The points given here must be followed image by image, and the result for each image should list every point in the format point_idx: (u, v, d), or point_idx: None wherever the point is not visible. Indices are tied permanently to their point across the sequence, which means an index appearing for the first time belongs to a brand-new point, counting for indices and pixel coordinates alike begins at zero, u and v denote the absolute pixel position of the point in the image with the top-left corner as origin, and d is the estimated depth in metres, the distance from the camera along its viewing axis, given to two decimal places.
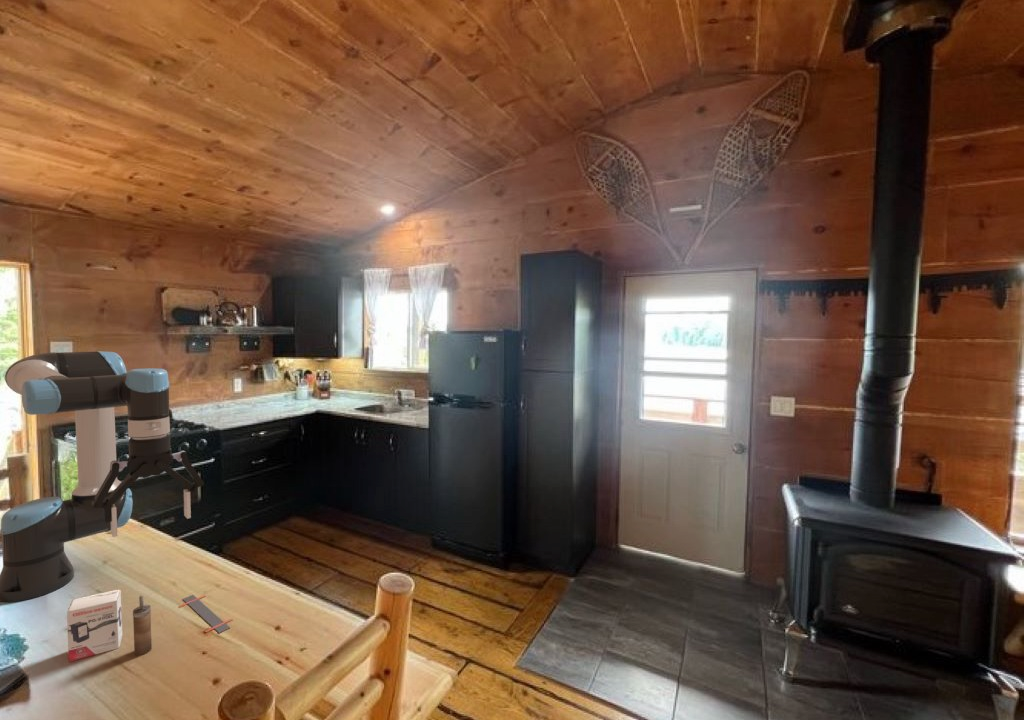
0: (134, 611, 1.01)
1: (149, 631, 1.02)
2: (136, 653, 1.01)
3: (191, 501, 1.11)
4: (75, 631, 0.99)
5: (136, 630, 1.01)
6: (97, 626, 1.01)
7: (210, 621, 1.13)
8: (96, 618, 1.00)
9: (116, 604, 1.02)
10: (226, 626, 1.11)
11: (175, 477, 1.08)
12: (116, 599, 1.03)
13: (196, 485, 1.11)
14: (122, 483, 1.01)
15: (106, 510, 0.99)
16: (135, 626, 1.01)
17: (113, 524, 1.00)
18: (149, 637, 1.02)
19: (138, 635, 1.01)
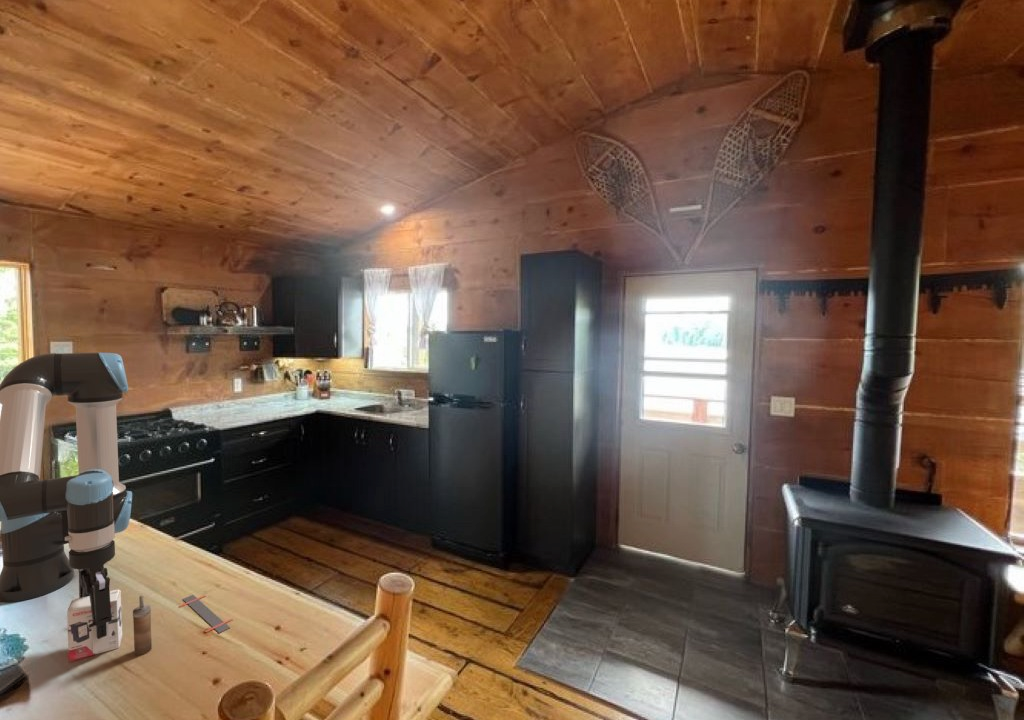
0: (134, 611, 1.01)
1: (149, 631, 1.02)
2: (136, 653, 1.01)
3: (97, 636, 0.99)
4: (75, 631, 0.99)
5: (136, 630, 1.01)
6: None
7: (210, 621, 1.13)
8: None
9: (116, 604, 1.02)
10: (226, 626, 1.11)
11: (90, 600, 0.99)
12: (116, 599, 1.03)
13: None
14: None
15: None
16: (135, 626, 1.01)
17: None
18: (149, 637, 1.02)
19: (138, 635, 1.01)
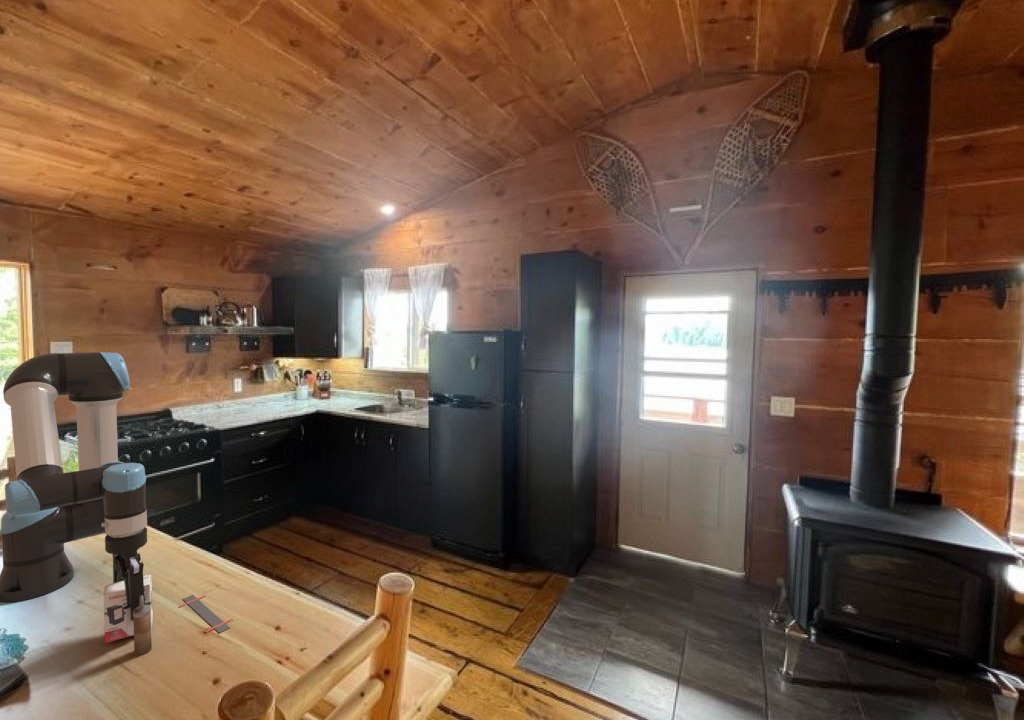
0: (134, 611, 1.01)
1: (149, 631, 1.02)
2: (136, 653, 1.01)
3: (131, 618, 1.04)
4: (111, 614, 1.04)
5: (136, 630, 1.01)
6: None
7: (210, 621, 1.13)
8: None
9: (149, 588, 1.07)
10: (226, 626, 1.11)
11: None
12: (149, 583, 1.08)
13: None
14: None
15: None
16: (135, 626, 1.01)
17: None
18: (149, 637, 1.02)
19: (138, 635, 1.01)
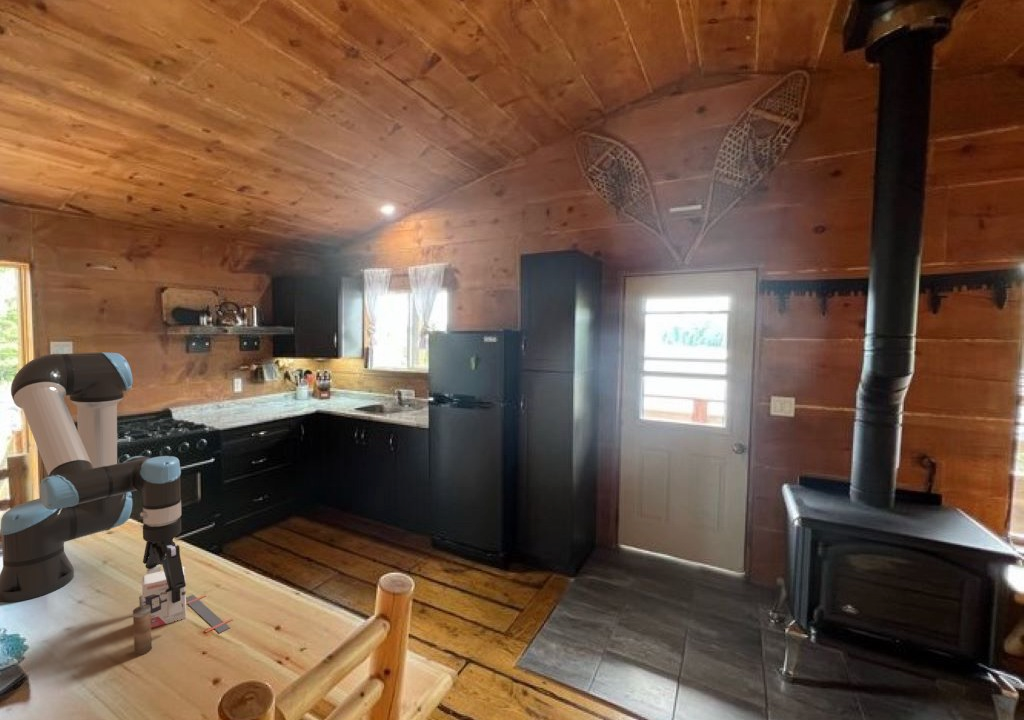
0: (134, 611, 1.01)
1: (149, 631, 1.02)
2: (136, 653, 1.01)
3: (172, 600, 1.08)
4: (149, 603, 1.09)
5: (136, 630, 1.01)
6: None
7: (210, 621, 1.13)
8: None
9: (184, 578, 1.13)
10: (226, 626, 1.11)
11: (164, 569, 1.09)
12: (184, 574, 1.13)
13: None
14: None
15: None
16: (135, 626, 1.01)
17: None
18: (149, 637, 1.02)
19: (138, 635, 1.01)
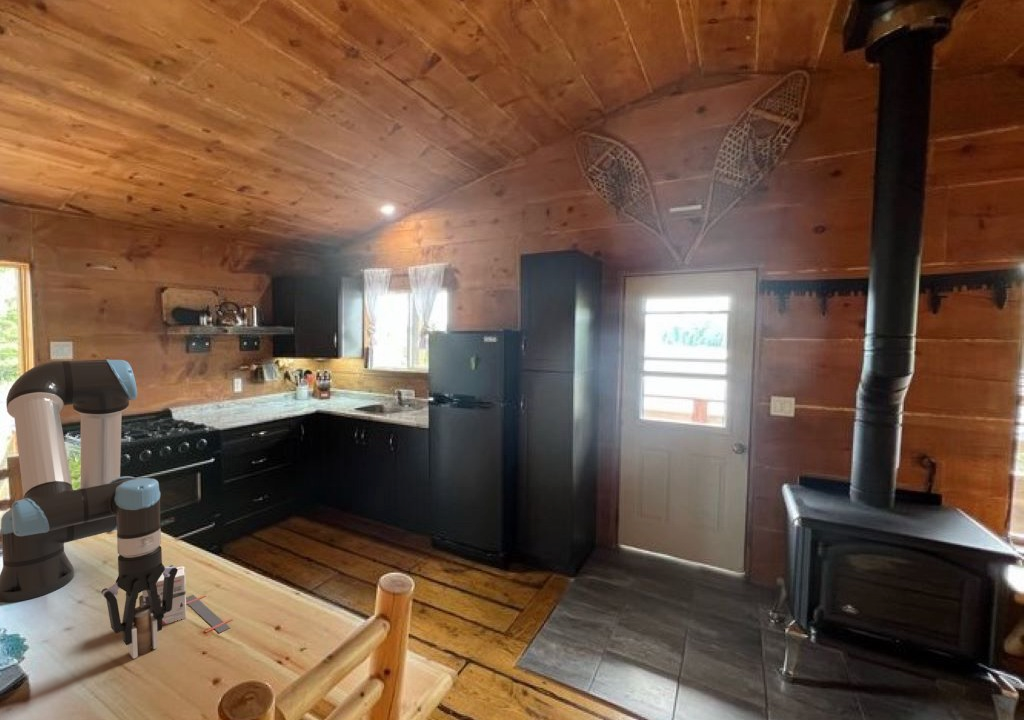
0: None
1: (149, 631, 1.02)
2: None
3: (158, 629, 1.04)
4: (149, 603, 1.09)
5: None
6: None
7: (210, 621, 1.13)
8: None
9: (184, 578, 1.13)
10: (226, 626, 1.11)
11: (153, 598, 1.02)
12: (184, 574, 1.13)
13: (163, 611, 1.05)
14: (127, 605, 0.99)
15: (126, 633, 0.99)
16: (135, 626, 1.01)
17: (134, 646, 1.00)
18: (149, 637, 1.02)
19: (138, 635, 1.01)
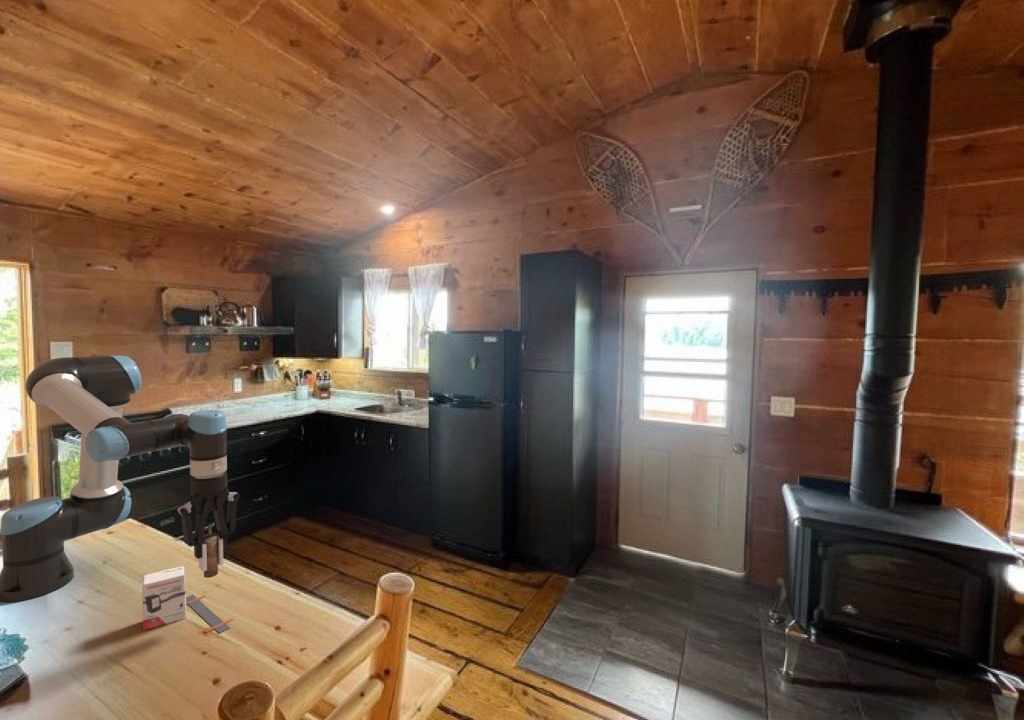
0: (204, 537, 1.12)
1: (216, 556, 1.13)
2: (205, 575, 1.12)
3: (223, 548, 1.14)
4: (149, 603, 1.09)
5: None
6: (168, 598, 1.11)
7: (210, 621, 1.13)
8: (167, 591, 1.11)
9: (184, 578, 1.13)
10: (226, 626, 1.11)
11: (220, 518, 1.13)
12: (184, 574, 1.13)
13: (227, 532, 1.15)
14: (198, 522, 1.10)
15: (198, 547, 1.10)
16: None
17: (204, 560, 1.10)
18: (216, 562, 1.13)
19: (208, 559, 1.11)
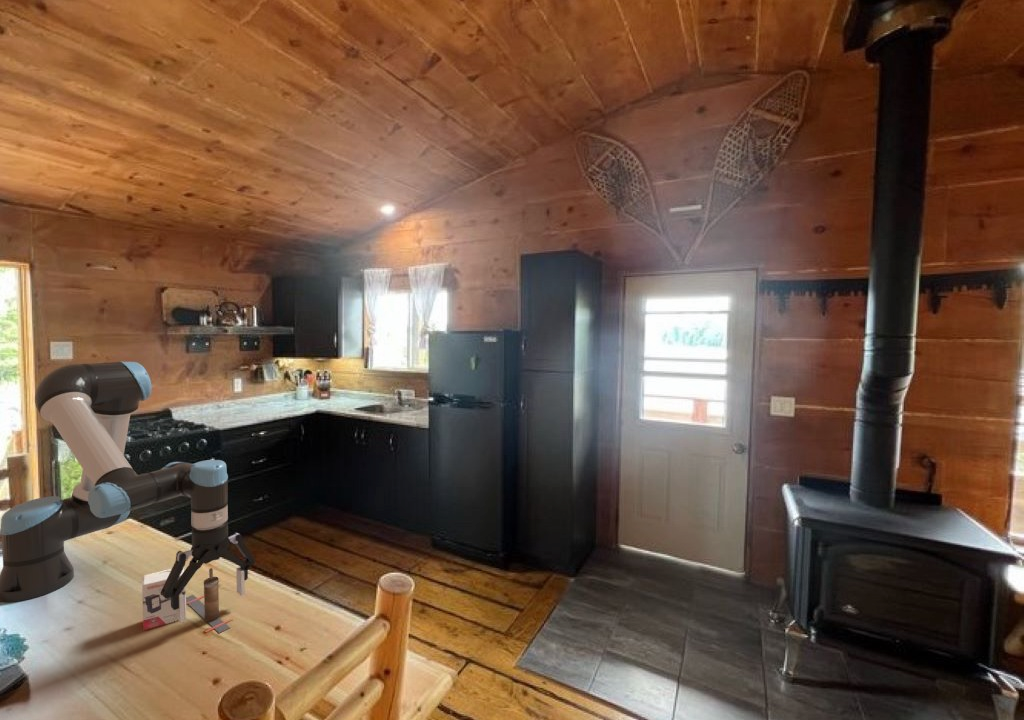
0: (205, 582, 1.12)
1: (217, 600, 1.14)
2: (206, 619, 1.13)
3: (244, 579, 1.19)
4: (149, 603, 1.09)
5: (207, 599, 1.12)
6: (168, 598, 1.11)
7: None
8: None
9: None
10: (226, 626, 1.11)
11: (232, 559, 1.16)
12: None
13: (248, 563, 1.20)
14: (187, 571, 1.09)
15: (174, 598, 1.06)
16: (206, 595, 1.12)
17: (181, 611, 1.07)
18: (217, 606, 1.14)
19: (209, 603, 1.12)
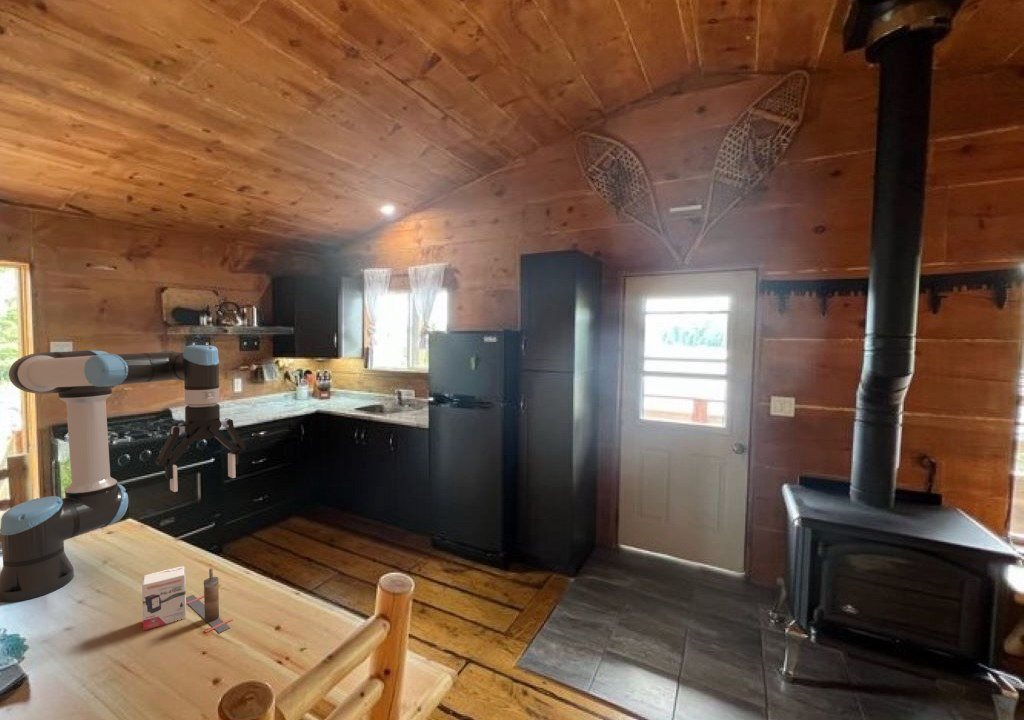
0: (205, 582, 1.12)
1: (217, 600, 1.14)
2: (206, 619, 1.13)
3: (235, 463, 1.26)
4: (149, 603, 1.09)
5: (207, 599, 1.12)
6: (168, 598, 1.11)
7: None
8: (167, 591, 1.11)
9: (184, 578, 1.13)
10: (226, 626, 1.11)
11: (223, 441, 1.22)
12: (184, 574, 1.13)
13: (239, 449, 1.26)
14: (180, 445, 1.15)
15: (168, 468, 1.13)
16: (206, 595, 1.12)
17: (174, 481, 1.14)
18: (217, 606, 1.14)
19: (209, 603, 1.12)
